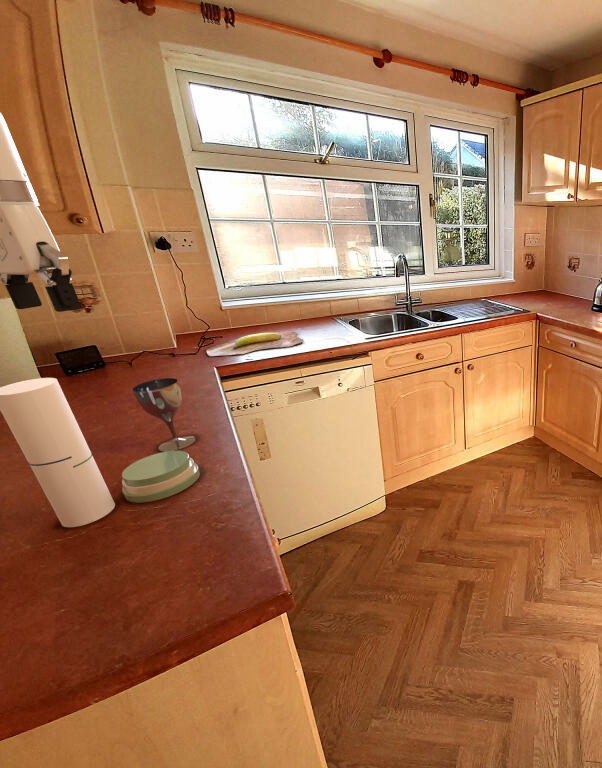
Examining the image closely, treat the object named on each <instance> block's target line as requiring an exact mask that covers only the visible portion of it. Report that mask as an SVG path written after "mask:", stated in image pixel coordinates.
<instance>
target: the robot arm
mask: <svg viewBox="0 0 602 768" xmlns="http://www.w3.org/2000/svg"><path fill="white" fill-rule="evenodd" d="M39 206H40V203H39V201H38V198H37V195H36V193H35V191H34V188H33V186H32V183H31V180H30V179H29V175H28V174H27V171H26V169H25V167H24V164H23V161H22V159H21V157H20V154H19V152H18V149H17V146H16V143H15V142H14V139H13V137H12V134H11V132H10V130H9V126H8V124H7V122H6V120H5V118H4V116H3V114H2V112H1V111H0V281H1V283H2V284H3V285H4V287H5V289H6V290H7V293H8V296H9V297H10V299H11V301H12V303H13V306H14V308H15V309H17V310H25V309H26V310H27V309H32V308H37V307H38V308H39V307H42V305H43V303H42V300H41V298H40V296H39V294H38V291H37V289H36V286H35V285H34V282H33V281H29V275H32V274H33V273H34V272H35V273H36V274H37V275H38V276H39V277H40V278H41V280H43V281H44V282H45V284H46V285H48V286H44V288H45V290H46V292H47V295H48V297H49V299H50V302H51V304H52V307H53V309H54V310H55V312H57V313H63V312H68V311H73V310H80V309H82V305H81V302H80V300H79V297H78V295H77V293H76V290H75V288H74V285H73V284H74V280H73V278H72V273H73V271H72V270H71V268H70V258H69V256H67V255H66V254H64V253H63V252H61V250H60V248H59V245H58V243H57V241H56V239H55V237H54V235H53V232H52V231H51V229H50V227H49V225H48V223H47V221H46V219H45V217H44V215H43V213H42V212H41V210H40V208H39ZM50 274H51V275H50Z"/></svg>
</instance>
